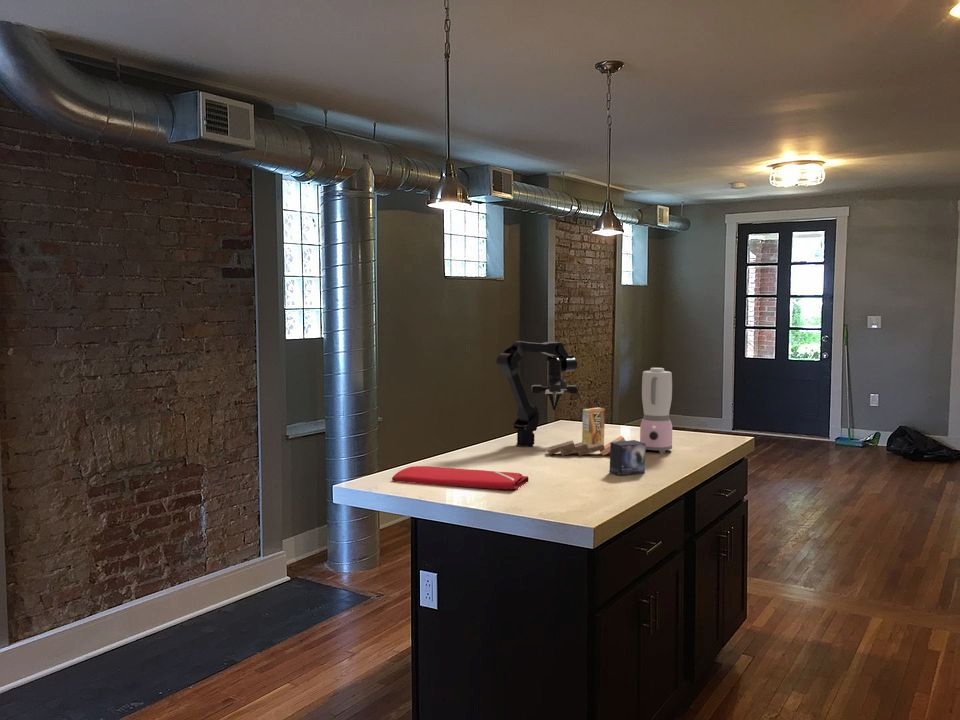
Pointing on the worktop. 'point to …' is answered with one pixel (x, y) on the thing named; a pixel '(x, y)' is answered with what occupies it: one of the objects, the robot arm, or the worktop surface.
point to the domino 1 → (561, 447)
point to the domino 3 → (592, 448)
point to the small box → (627, 457)
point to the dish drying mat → (461, 477)
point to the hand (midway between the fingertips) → (554, 410)
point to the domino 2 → (577, 448)
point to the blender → (656, 410)
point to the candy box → (593, 425)
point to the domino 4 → (607, 447)
